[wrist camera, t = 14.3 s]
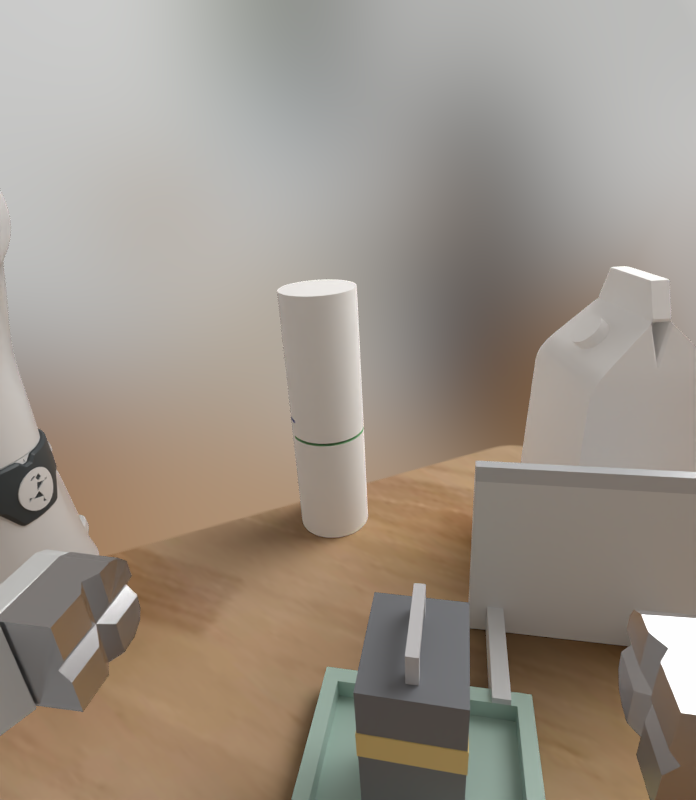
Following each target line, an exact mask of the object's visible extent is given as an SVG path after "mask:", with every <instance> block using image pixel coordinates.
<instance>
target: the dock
mask: <svg viewBox="0 0 696 800" xmlns="http://www.w3.org/2000/svg"><path fill="white" fill-rule="evenodd" d="M468 603H469V625H470V628H472V629H481V630H486V646H487V666H488V686H489V689H491V694H492V703H497V704H504V705H511V701H512V700H511V689H510V678H509V667H508V656H507V645H506V634H505V632H507V633H516V634H525V635H533V636H542V637H551V638H560V639H568V640H577V641H586V642H594V643H603V644H612V645H621V646H630V645H632V644H631V641H630V638H629V636H628V633H627V630H626V628H627V624H628V620H629V616H630V614H631V613H632V611H633V610H634V609H635V610H646V611H657V612H668V613H679V614H690V615H696V472H685V471H666V470H646V469H627V468H608V467H588V466H569V465H549V464H530V463H510V462H491V461H476V466H475V481H474V501H473V521H472V541H471V561H470V581H469V601H468Z"/></svg>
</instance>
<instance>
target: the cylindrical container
mask: <svg viewBox="0 0 696 800" xmlns="http://www.w3.org/2000/svg"><path fill="white" fill-rule="evenodd" d="M277 295H278V304H279V313H280V322H281V331H282V340H283V349H284V358H285V367H286V376H287V385H288V394H289V402H290V412H291V421H292V430H293V439H294V448H295V457H296V466H297V475H298V484H299V493H300V502H301V511H302V520H303V524H304V526H305V528H306V529H307V530H308V531H310V532H311V533H313V534H315V535H318V536H321V537H328V538H336V537H343V536H347V535H350V534H353V533H355V532H357V531H358V530H359V529H361V528H362V527H363V526H364V525H365V523H366V521H367V518H368V507H367V487H366V467H365V446H364V427H363V405H362V385H361V364H360V344H359V325H358V324H359V323H358V304H357V285H356V284H355V283H354V282H351V281H346V280H331V279H326V280H310V281H302V282H296V283H291V284H288V285H284V286H282V287H280V288H279V289H278V290H277Z"/></svg>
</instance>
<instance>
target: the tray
mask: <svg viewBox="0 0 696 800" xmlns="http://www.w3.org/2000/svg"><path fill="white" fill-rule="evenodd" d="M357 673H358V671H355V670H348V669H341V668H333V667H327V668H326V672H325V676H324V680H323V683H322V687H321V691H320V694H319V698H318V702H317V706H316V709H315V713H314V717H313V721H312V724H311V728H310V732H309V735H308V739H307V743H306V747H305V750H304V754H303V758H302V762H301V765H300V769H299V773H298V776H297V780H296V784H295V788H294V791H293V795H292V799H291V800H361V788H360V774H359V761H358V756H357V752H356V739H355V732H356V721H355V708H354V695H353V692H354V687H355V683H356V678H357ZM511 700H512V701H511V705H504V704H497V703H492V694H491V689H487V688H480V687H473V686H470V721H469V760H468V776H467V775H466V790H465V800H545V792H544V785H543V777H542V769H541V762H540V754H539V746H538V739H537V731H536V723H535V716H534V708H533V700H532V695H531V694H524V693H516V692H511Z"/></svg>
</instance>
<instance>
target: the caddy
mask: <svg viewBox="0 0 696 800" xmlns="http://www.w3.org/2000/svg"><path fill="white" fill-rule="evenodd" d="M353 695H354V708H355V721H356V732H355V739H356V752H357V756H358V761H359V774H360V788H361V800H465V790H466V775H467V776H468V760H469V721H470V625H469V603H468V602H459V601H450V600H441V599H431V598H426V584H419V583H414V587H413V595H412V596H404V595H395V594H386V593H377V592H375V593H374V598H373V603H372V607H371V612H370V617H369V621H368V626H367V631H366V636H365V640H364V645H363V650H362V654H361V659H360V664H359V668H358V673H357V678H356V683H355V687H354V692H353Z"/></svg>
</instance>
